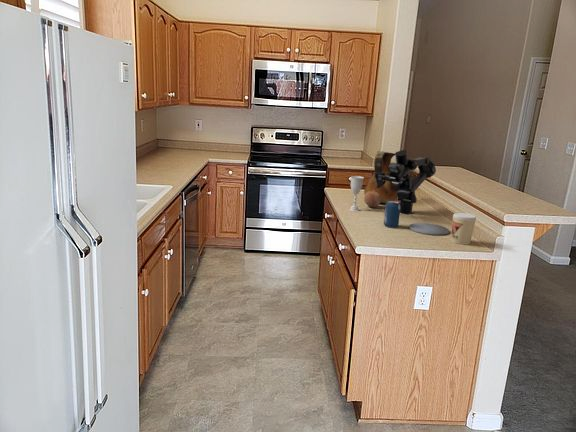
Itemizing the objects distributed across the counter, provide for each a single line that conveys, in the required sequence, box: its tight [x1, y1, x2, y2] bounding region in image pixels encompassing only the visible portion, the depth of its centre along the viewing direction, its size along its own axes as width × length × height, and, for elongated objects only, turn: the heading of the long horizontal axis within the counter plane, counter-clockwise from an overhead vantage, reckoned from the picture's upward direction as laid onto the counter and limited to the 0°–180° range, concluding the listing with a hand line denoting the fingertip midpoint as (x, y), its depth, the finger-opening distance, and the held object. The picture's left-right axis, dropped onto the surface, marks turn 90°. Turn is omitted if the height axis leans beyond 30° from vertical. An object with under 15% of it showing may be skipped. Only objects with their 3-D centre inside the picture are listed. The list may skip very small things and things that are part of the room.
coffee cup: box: [451, 212, 477, 246], centre depth 199 cm, size 9×9×12 cm
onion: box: [363, 190, 382, 208], centre depth 257 cm, size 10×9×10 cm
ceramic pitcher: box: [363, 151, 398, 204], centre depth 271 cm, size 20×20×30 cm
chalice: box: [349, 175, 365, 212], centre depth 248 cm, size 7×7×18 cm
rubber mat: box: [408, 222, 450, 236], centre depth 217 cm, size 18×18×1 cm
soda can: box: [383, 200, 400, 229], centre depth 219 cm, size 7×7×12 cm
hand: (385, 188), depth 227 cm, fingers open, 9 cm apart
